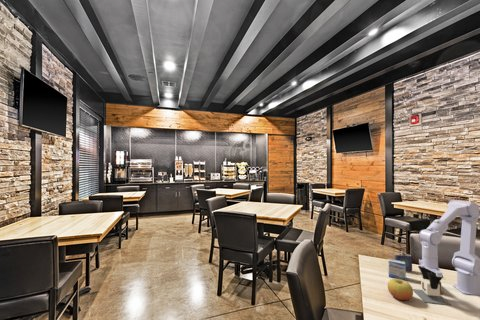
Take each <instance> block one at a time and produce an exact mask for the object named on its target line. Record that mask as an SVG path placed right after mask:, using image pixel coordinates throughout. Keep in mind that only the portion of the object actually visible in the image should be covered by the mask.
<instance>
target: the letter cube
mask: <svg viewBox="0 0 480 320" xmlns="http://www.w3.org/2000/svg"><path fill="white" fill-rule="evenodd" d="M420 283H421V285H420V288H421V289H420V290H423V291H424V292H425V293H426V294H427V295H433V296H440V295H441V294H440V285H438V288H437V289H432V288H431V286H430V280H429V279H423V278H421V279H420Z"/></svg>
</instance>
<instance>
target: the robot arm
mask: <svg viewBox="0 0 480 320" xmlns="http://www.w3.org/2000/svg"><path fill="white" fill-rule="evenodd" d="M446 206H447V209H446V210H445V212H444V213H443V214H442V216H441V217H440V218H439V219H437V218H436V219H434V220H433V221H432V222H431V223H430V224H429V225H428V227H427V228H426V229H421V230H420V231H419V233H418V236H417V237H418V239H419V241H420V245H421V259H420V258H419V259H418V264H419V265H418V266H417V267H418V269H419V271H420V273H421V277H422V279H429V280H430V286H431V288H432V289H437V288H438V285H439V282H441V280H443V278H444V275H443V272H442V271H441V270H440V267H439V260H438V259H439V256H438V255H439V253H438V252H439V249H438V245H439V244H440V243H441V241H442V238H443V234H445V233H446V231H447V230H448V229H449V224H450V223H451V222H452V221H453V220H455V219H456V218H457V217H459V218H460V219H461V231H460V246H459V250H458V251H456V252H454V253H453V257H452V259H451V264H452V266H453V267H454V270H455V271H456V276H457V277H456V281H457V283H456V284H452V286H453V287H454V288H455V289H457V290H458V291H460V292H461V293H462V294H464V295H472V296H480V257H479V256H478V255H477V254H475V253H476V237H477V236H476V235H477V221H478V220H480V206H479V204H477V202H474V201H466V200H458V199H457V200H456V199H451V200H449V201H448V203H447V205H446Z"/></svg>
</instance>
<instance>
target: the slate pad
mask: <svg viewBox="0 0 480 320" xmlns="http://www.w3.org/2000/svg"><path fill="white" fill-rule="evenodd" d="M412 289H413V293H415V294H416V295H417V296H418V297H419V298H420V299H421V300H422V301H423V302H424V303H426V304H435V305H442V306H443V305H444V306H452V304H451V303H450V302H449V301H448V300H447V299H445V298H444V297H443V295H441V294H440V296H433V295H427V294H426V293H425V292H424V291H423V290H422V289H417V288H412Z"/></svg>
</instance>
